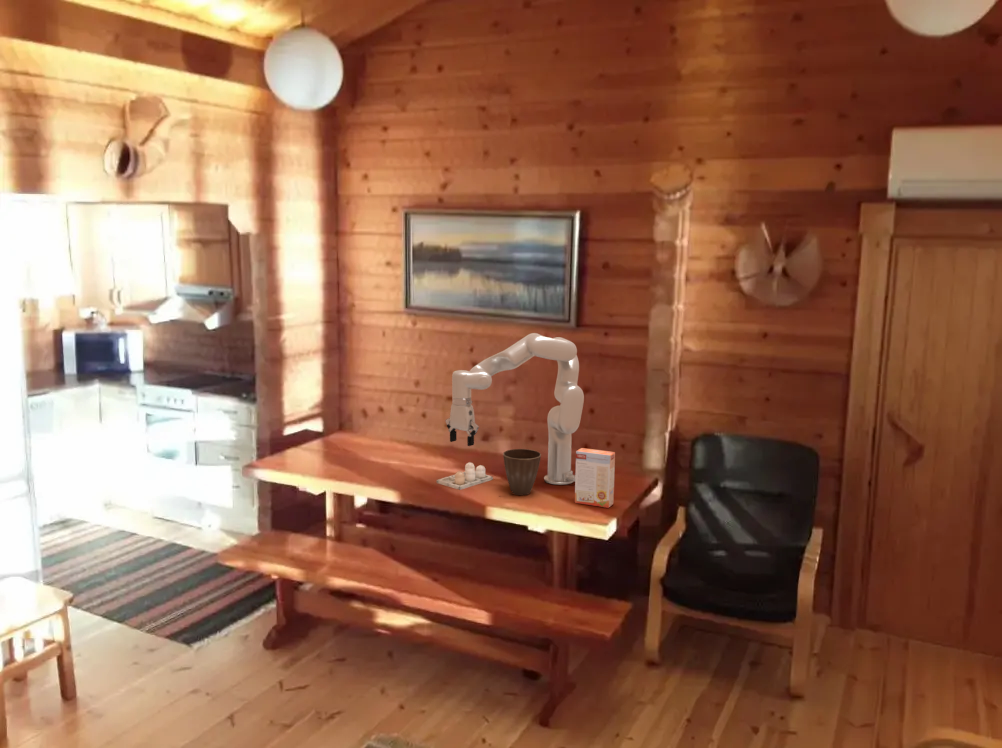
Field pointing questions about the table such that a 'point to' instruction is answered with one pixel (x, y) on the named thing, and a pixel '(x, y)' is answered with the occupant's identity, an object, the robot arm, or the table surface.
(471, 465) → the cream egg
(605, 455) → the cracker box
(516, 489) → the plant pot
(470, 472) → the cream egg
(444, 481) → the white egg tray
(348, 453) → the table surface
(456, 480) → the tan egg
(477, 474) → the cream egg
